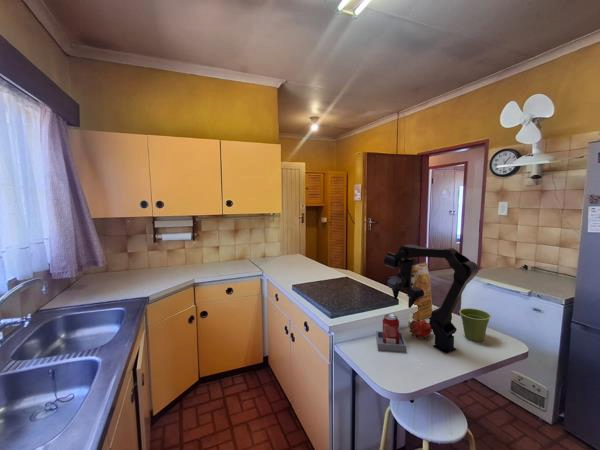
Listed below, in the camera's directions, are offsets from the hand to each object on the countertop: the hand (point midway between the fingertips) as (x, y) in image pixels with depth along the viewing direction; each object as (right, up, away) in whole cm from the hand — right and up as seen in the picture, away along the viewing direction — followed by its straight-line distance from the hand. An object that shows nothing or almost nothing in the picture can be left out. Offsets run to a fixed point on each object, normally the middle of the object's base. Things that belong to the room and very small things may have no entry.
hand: (402, 303), depth 129 cm
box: (-9, -15, -10) cm, 20 cm away
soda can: (-9, -15, -10) cm, 20 cm away
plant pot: (+29, -14, -7) cm, 33 cm away
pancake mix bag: (+17, -12, +18) cm, 28 cm away
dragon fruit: (+7, -14, -4) cm, 16 cm away
